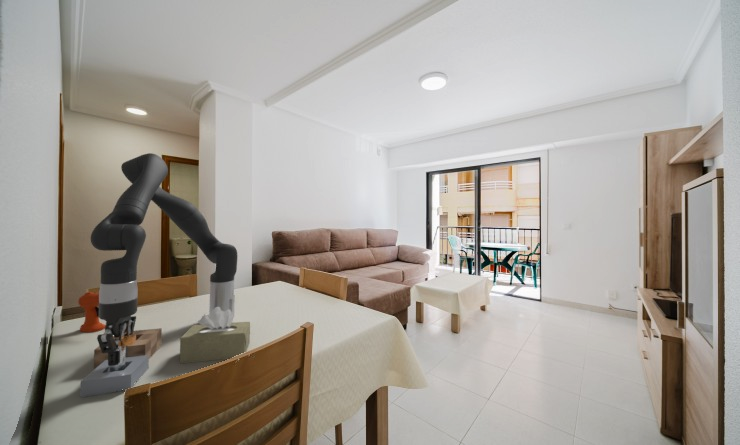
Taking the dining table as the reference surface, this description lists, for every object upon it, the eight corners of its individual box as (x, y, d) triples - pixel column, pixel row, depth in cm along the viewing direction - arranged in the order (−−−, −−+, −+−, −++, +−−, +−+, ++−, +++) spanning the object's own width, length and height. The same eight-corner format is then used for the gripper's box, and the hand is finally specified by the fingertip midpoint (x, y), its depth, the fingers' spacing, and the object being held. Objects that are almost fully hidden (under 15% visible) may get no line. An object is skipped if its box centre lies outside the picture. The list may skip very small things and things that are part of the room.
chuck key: (136, 376, 74) (137, 333, 74) (130, 382, 71) (131, 338, 71) (104, 380, 71) (105, 336, 71) (97, 387, 69) (98, 341, 68)
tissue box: (178, 364, 81) (179, 312, 80) (191, 348, 90) (192, 302, 90) (245, 357, 86) (246, 309, 85) (250, 343, 95) (251, 300, 95)
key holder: (148, 368, 78) (148, 354, 78) (130, 389, 68) (131, 374, 68) (105, 374, 74) (105, 360, 74) (80, 397, 65) (80, 381, 65)
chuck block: (161, 345, 91) (161, 328, 91) (145, 363, 80) (145, 344, 80) (117, 350, 87) (117, 332, 87) (93, 370, 76) (94, 349, 76)
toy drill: (126, 329, 99) (121, 290, 99) (76, 334, 99) (71, 295, 98) (137, 324, 104) (133, 286, 104) (89, 328, 104) (85, 291, 103)
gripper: (121, 305, 65) (120, 373, 66) (147, 290, 79) (146, 347, 79) (82, 307, 63) (81, 379, 63) (116, 291, 76) (115, 350, 76)
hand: (117, 360), depth 71 cm, fingers closed on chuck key, 3 cm apart
